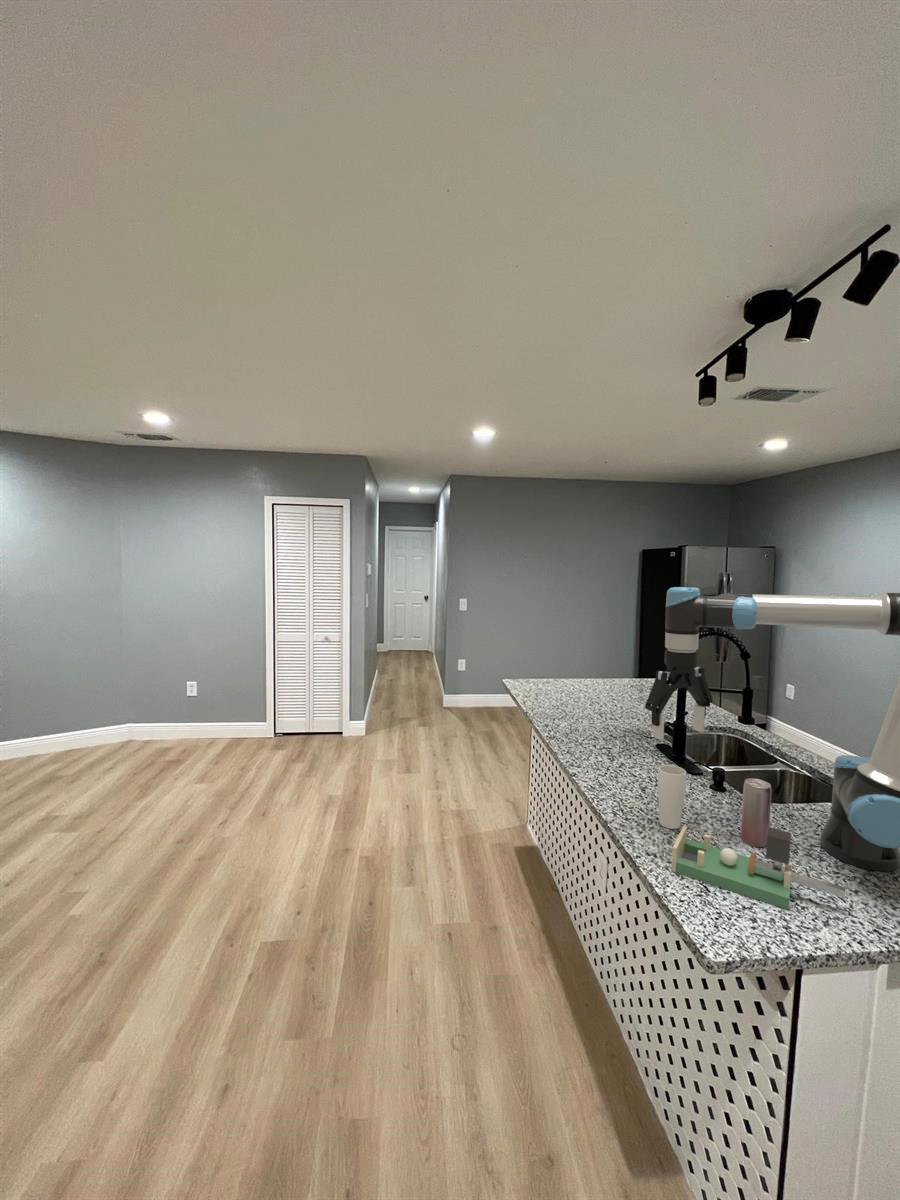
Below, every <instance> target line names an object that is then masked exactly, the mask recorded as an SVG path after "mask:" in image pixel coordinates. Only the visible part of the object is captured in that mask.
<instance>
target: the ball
mask: <svg viewBox="0 0 900 1200" xmlns="http://www.w3.org/2000/svg"><path fill="white" fill-rule="evenodd" d="M722 849H723V850H722V851H721V852H720V858H721V860H722V861H723V863H725V864H726V865H729V866H733V865H735V864H736V863H737V861H738V856H737V854H738V853H737V852H736V851H735V850H733V849H732V848H731V847H730V848H729V847H726V848H725V847H724V848H722ZM736 853H737V854H736Z"/></svg>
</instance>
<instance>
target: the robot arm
mask: <svg viewBox="0 0 900 1200" xmlns="http://www.w3.org/2000/svg"><path fill="white" fill-rule="evenodd" d="M701 594H702V593H701V590H700V588H698V587H689V586H688V587H687V586H682V587H681V586H678V587H677V586H674V587H670V588H669V589H668V590H667V592H666V597H665V598H666V599H665V601H666V602H665V620H664V621H665V624H664V625H665V627H664V628H665V632H664V633H665V634H664V637H665V638H664V639H665V640H664V647H665V650H664V661H663V662H664V665H666V670H665V671H661V670H657V671H656V672H655V677H654V682H653V684H652V687H651V690H650V692H649V694H648V697H647V700H646V702H645V705H644V709H645V710H648V711H651V725H652V738H656V739H658V740H660V741H664V739H665V738H664V736H665V735H664V734H665V712H663V710H664V708H665V707H666V706H667V704H668V702H669V701H670V699H671V698H672V696H673V694H674V692H676V691H678V689H683V688H685V689H687V691H688V693H689V694H690V696H691V697H692V698H693V700H694V701H695V703H696V704H693V717H692V718H693V719H692V721H693V722H692V723H693V724H692V730H693V731H696V732H699V733H703V734H704V733H705V718H706V716H707V715H706V713H707V711H706V710H707V708H709V707H711V704H712V703H713V701H714V699H713V697H712V693H711V691H710V688H709V684H708V681H707V679H706V675H705V674H706V673H705V668H703V667H700V666H698V665H699V664H698V663H699V662H698V660H699V653H698V650H699V640H700V639H699V637H700V635H699V628H716V629H718V628H720V629H735V630H739V631H740V630H753V629H754V628H756V625H770V626H789V627H790V626H792V627H809V628H810V627H813V628H831V629H832V628H833V629H853V630H854V629H855V630H859V629H860V630H873V631H874V630H875V631H877V632H878V633H879V634H880V635H884V636H885V635H886V636H888V635H889V636H897V637H900V592H882V593H880V594H879V595H878V596H853V595H852V596H851V595H850V596H848V595H847V596H845V595H840V596H838V595H808V594H807V595H797V594H794V595H793V594H756V593H755V594H749V593H748V594H747V593H734V592H724V593H721V594H719V595H718V596H717V595H716V596H708V595H701ZM831 795H832V796H831V797H832V798H831V809H830V810H831V811H830V815H829V817H828V819H827V821H826V822H825V824H824V825H823V828H822V830H821V832H820V837H819V838H820V839H819V844H820V846H821V847H822V849H823V850H824V851H825V852H826V853H828V854H830V855H831V856H832V857H835V858H836V859H837V860H838V859H839V860H840V861H842V862H844V863H847V864H849V865H853V866H855V867H859V868H862V869H866V870H871V871H876V872H877V871H878V872H891V871H895V870H898V869H899V868H900V678H899V679H898V682H897V685H896V687H895V690H894V693H893V696H892V698H891V701H890V703H889V707H888V709H887V711H886V715H885V717H884V719H883V723H882V725H881V728H880V731H879V734H878V735H877V740H876V742H875V745H874V746H873V751H872V753H871V756H870V757H866V756H859V755H858V756H857V755H850V754H849V755H847V754H845V755H838V756H837V757H835V760H834V765H833V783H832V794H831Z"/></svg>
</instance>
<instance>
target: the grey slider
mask: <svg viewBox="0 0 900 1200" xmlns="http://www.w3.org/2000/svg"><path fill="white" fill-rule="evenodd" d="M791 837H792V833H791V832H789V831H785V830H782V829H777V828H773V827H770V826H769V829H768V835H767V845H766V850H765V851H766V853H765V854H766V855H765V858H766V859H768V860H770V861H771V860H772V863H771V864H770V863H769V862H767V861H763V860H760V859H757V853H756V852H752V851H751V852H750V854H749V855H750V856H749V857H750V859H749V870H748V873H750V874H753V875H754V873H758V874H761V875H764V876H767V877H771V878H774V879H777V880H780V881H782V879H784V874H785V870H784V869H783V867H784V866H783V864H788V865H789V862H790V853H791ZM790 883H793V884H798V885H801V886H803V887H804V886H805V887H807V888H810V889H815V890H818V891H821V892H824V893H827V894H830V895H834V896H837V897H841V898H844V899H845V897H846V887H844V886H842V885H837V884H834V883H831V882H827V881H825V880H820V879H817V878H815V877H814V878H813V877H810V876H808V875H807V876H806V875H804V874H800V873H797V872H794V871H791V882H790Z"/></svg>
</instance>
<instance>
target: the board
mask: <svg viewBox="0 0 900 1200" xmlns="http://www.w3.org/2000/svg"><path fill="white" fill-rule="evenodd" d="M687 835H688V826H687V825H683V826H682V828H681V830H680V832H679V834H678V836H677V838H676V840H675V842H674V844H673V846H672V855H671V872H673V873H675V874H680V875H682V876H686V877H688V878H692V879H695V880H698V881H700V882H703V883H706V884H709V885H712V886H715V887H717V888H721V889H725V890H727V891H731V892H734V893H737V894H739V895H743V896H745V897H749V898H751V899H753V900H754V899H755V900H757V901H759V902H760V901H761V902H763V903H767V904H769V905H773V906H775V907H778V908H780V909H781V908H782V909H785V910H788V911H789V909H790V908H789V907H790V906H789V905H790V895H791V883H792V882H791V872H792V865H793V863H792V862H790V861H789V865H788V864H785V863H784V864H785V865H784V866H785V867H784V866H782V867H783V869H784V870H785V874H784V879H782V881H780V880H777V879H774V878H771V877H767V876H764V875H761V874H758V873H754V875H753V874H750V873H748V870H749V859H750V856H746V855H743V854H739V853H737V852H736V854H737V856H738V861H737V863H736V864H735V865H733V866H729V865H726V864H725V863H723V861H722V860H721V858H720V852H721V851H722V850H723V849H724V848H718V847H716V846H712V845H711V839H712V838H711V837H712V836H711V835H709V834H707V833H704V836H703V843H702V842H699V841H696V840H691V839H689V838H688V837H687ZM770 864H772V862H771V863H770Z"/></svg>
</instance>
